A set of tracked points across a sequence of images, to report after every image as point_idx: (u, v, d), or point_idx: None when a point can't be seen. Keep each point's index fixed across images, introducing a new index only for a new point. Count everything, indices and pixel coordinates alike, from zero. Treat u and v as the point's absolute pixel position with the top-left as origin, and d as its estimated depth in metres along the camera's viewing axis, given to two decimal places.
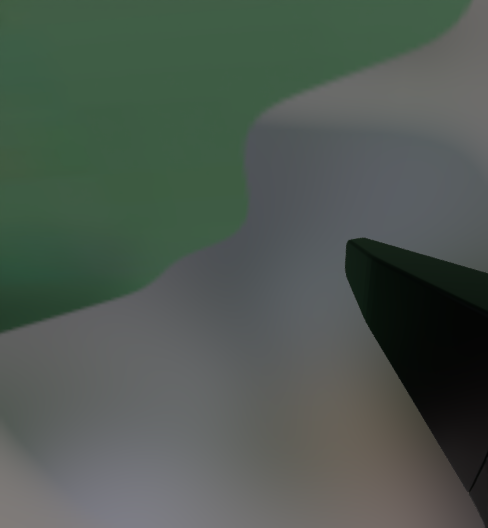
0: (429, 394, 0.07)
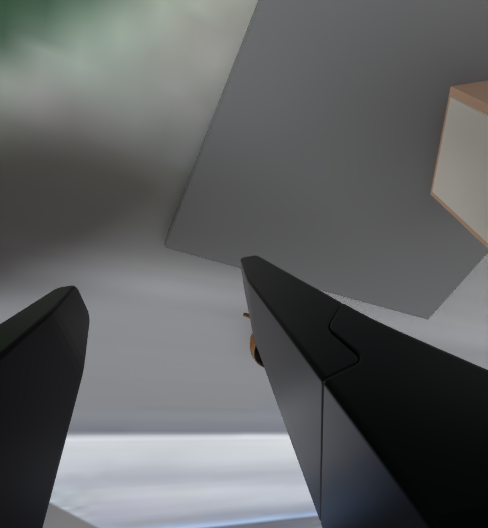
0: (290, 420, 0.07)
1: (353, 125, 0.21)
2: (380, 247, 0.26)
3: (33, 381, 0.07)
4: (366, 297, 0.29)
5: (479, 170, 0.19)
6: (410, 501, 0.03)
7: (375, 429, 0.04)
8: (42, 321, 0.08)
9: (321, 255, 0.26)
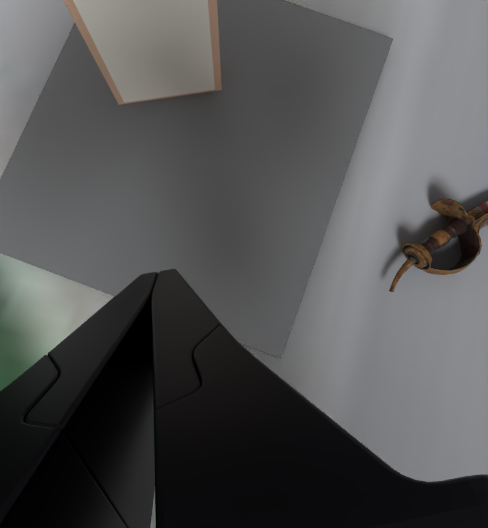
0: None
1: (151, 182, 0.23)
2: (285, 124, 0.24)
3: (142, 362, 0.07)
4: (356, 123, 0.24)
5: (154, 59, 0.20)
6: None
7: (167, 468, 0.04)
8: (145, 304, 0.08)
9: (294, 186, 0.24)
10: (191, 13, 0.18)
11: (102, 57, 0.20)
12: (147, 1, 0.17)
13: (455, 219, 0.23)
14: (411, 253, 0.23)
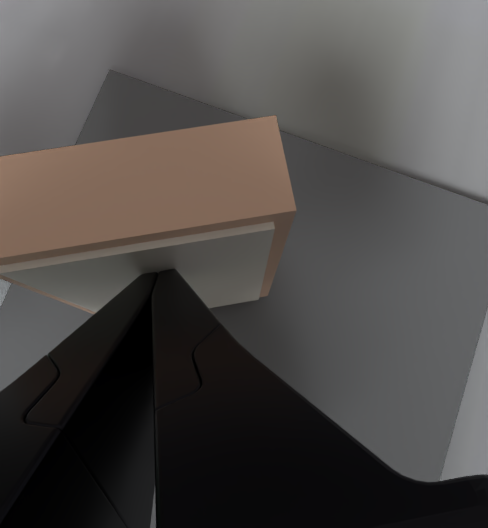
0: None
1: None
2: (361, 349, 0.16)
3: (142, 362, 0.07)
4: (465, 346, 0.16)
5: None
6: None
7: (167, 468, 0.04)
8: (145, 303, 0.08)
9: (378, 450, 0.16)
10: (237, 262, 0.10)
11: (83, 305, 0.12)
12: (159, 264, 0.09)
13: None
14: None
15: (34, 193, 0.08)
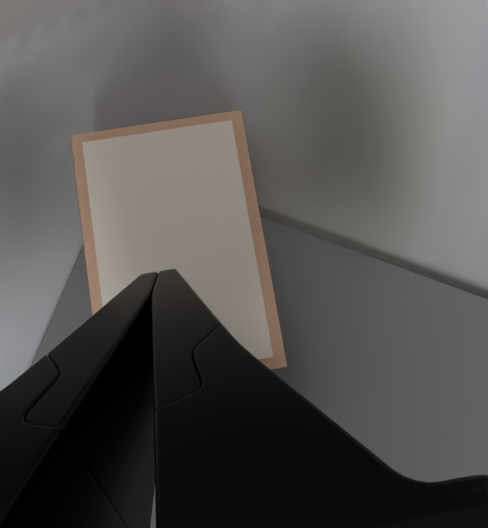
0: None
1: None
2: None
3: (142, 362, 0.07)
4: None
5: (170, 267, 0.14)
6: None
7: (168, 468, 0.04)
8: (145, 303, 0.08)
9: None
10: (220, 180, 0.14)
11: (97, 260, 0.14)
12: (167, 160, 0.14)
13: None
14: None
15: None
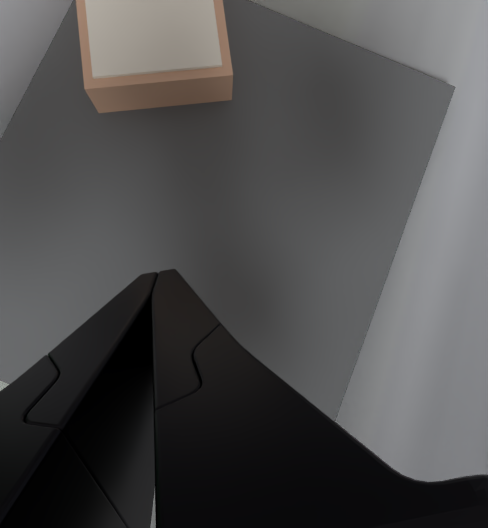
0: None
1: (142, 263, 0.18)
2: (317, 192, 0.19)
3: (142, 362, 0.07)
4: (407, 194, 0.19)
5: None
6: None
7: (167, 468, 0.04)
8: (145, 304, 0.08)
9: (327, 275, 0.18)
10: None
11: None
12: None
13: None
14: None
15: None
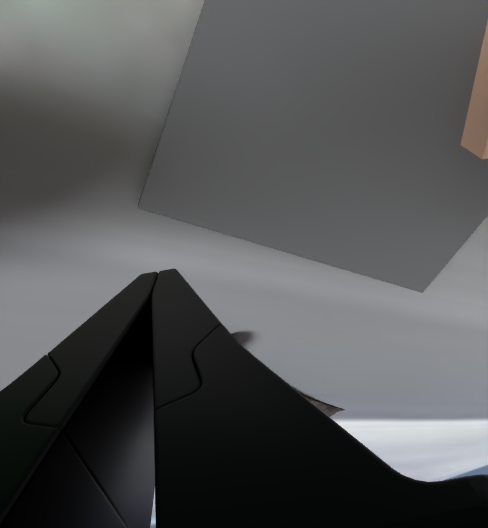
0: None
1: (338, 69, 0.19)
2: (370, 211, 0.24)
3: (142, 362, 0.07)
4: (356, 267, 0.27)
5: None
6: None
7: (167, 468, 0.04)
8: (145, 304, 0.08)
9: (307, 219, 0.24)
10: None
11: None
12: None
13: None
14: None
15: None
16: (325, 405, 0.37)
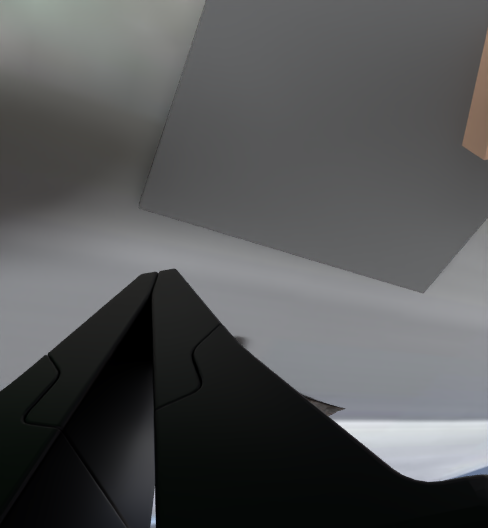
0: None
1: (339, 69, 0.19)
2: (371, 211, 0.24)
3: (142, 362, 0.07)
4: (357, 268, 0.27)
5: None
6: None
7: (168, 468, 0.04)
8: (145, 304, 0.08)
9: (308, 219, 0.24)
10: None
11: None
12: None
13: None
14: None
15: None
16: (325, 405, 0.37)
